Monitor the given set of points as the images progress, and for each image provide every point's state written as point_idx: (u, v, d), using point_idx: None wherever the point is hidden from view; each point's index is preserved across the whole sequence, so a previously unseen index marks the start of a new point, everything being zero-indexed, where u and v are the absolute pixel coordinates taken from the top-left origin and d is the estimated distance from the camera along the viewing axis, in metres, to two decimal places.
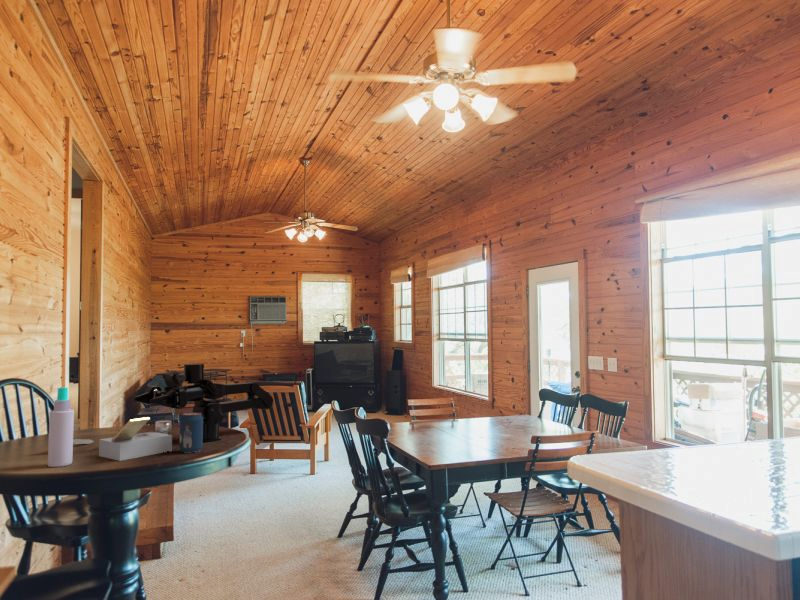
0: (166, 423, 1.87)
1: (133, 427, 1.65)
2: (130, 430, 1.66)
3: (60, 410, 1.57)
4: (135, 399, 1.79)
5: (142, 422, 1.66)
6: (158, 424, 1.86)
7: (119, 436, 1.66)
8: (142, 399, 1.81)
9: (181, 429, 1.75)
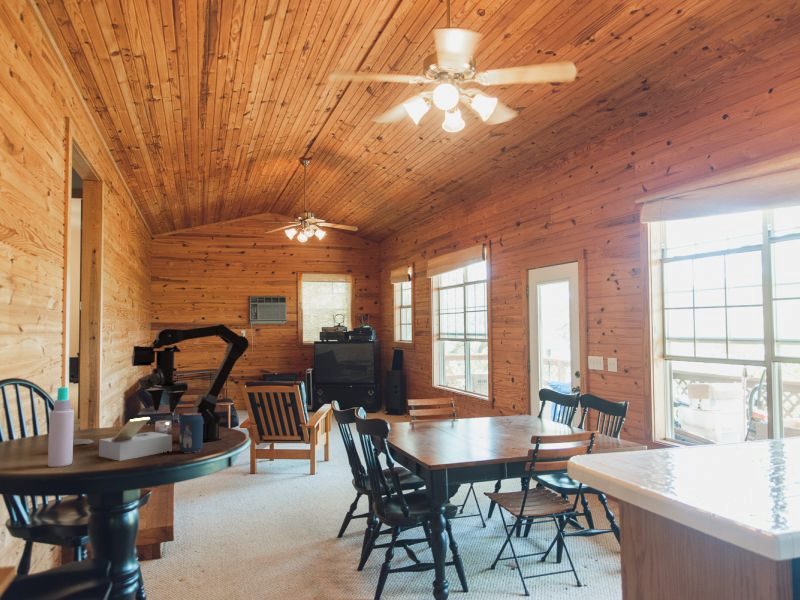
0: (166, 423, 1.87)
1: (133, 427, 1.65)
2: (130, 430, 1.66)
3: (60, 410, 1.57)
4: (156, 409, 1.91)
5: (142, 422, 1.66)
6: (158, 424, 1.86)
7: (119, 436, 1.66)
8: (157, 402, 1.92)
9: (181, 429, 1.75)
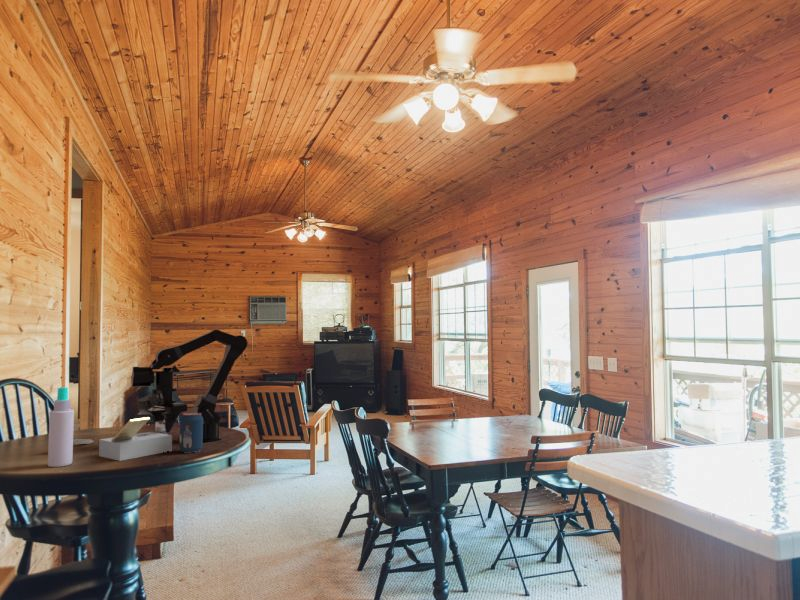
0: None
1: (133, 427, 1.65)
2: (130, 430, 1.66)
3: (60, 410, 1.57)
4: None
5: (142, 422, 1.66)
6: (158, 424, 1.86)
7: (119, 436, 1.66)
8: None
9: (181, 429, 1.75)
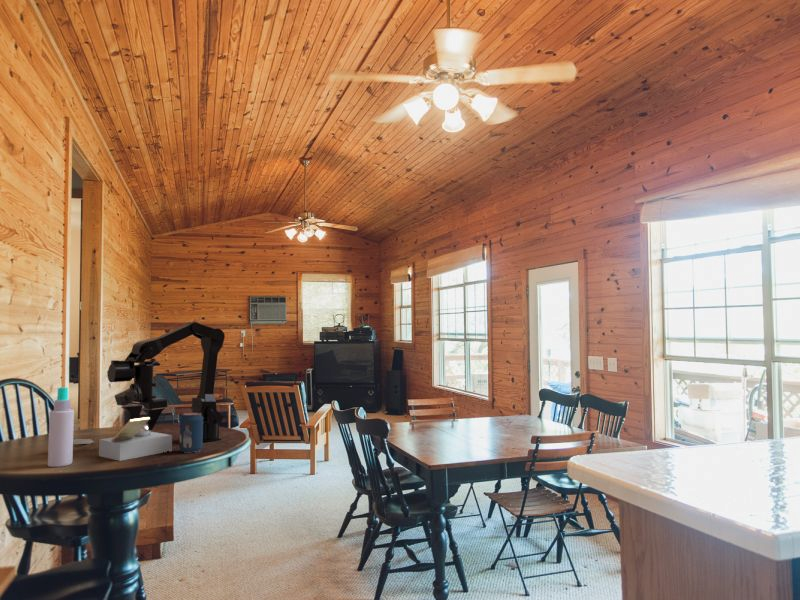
0: (145, 428, 1.76)
1: (133, 427, 1.65)
2: (130, 430, 1.66)
3: (60, 410, 1.57)
4: None
5: (142, 422, 1.66)
6: None
7: (119, 436, 1.66)
8: (135, 418, 1.81)
9: (181, 429, 1.75)
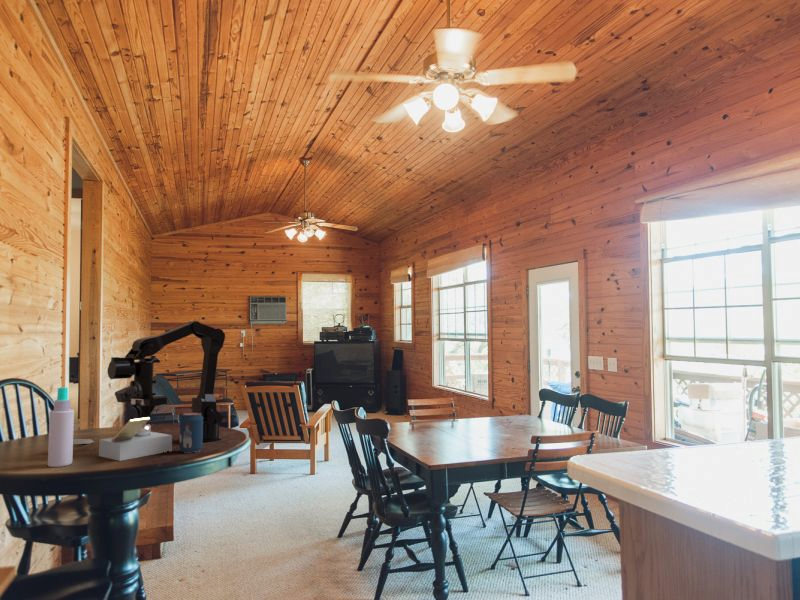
0: (145, 428, 1.76)
1: (133, 427, 1.65)
2: (130, 430, 1.66)
3: (60, 410, 1.57)
4: None
5: (142, 422, 1.66)
6: None
7: (119, 436, 1.66)
8: None
9: (181, 429, 1.75)
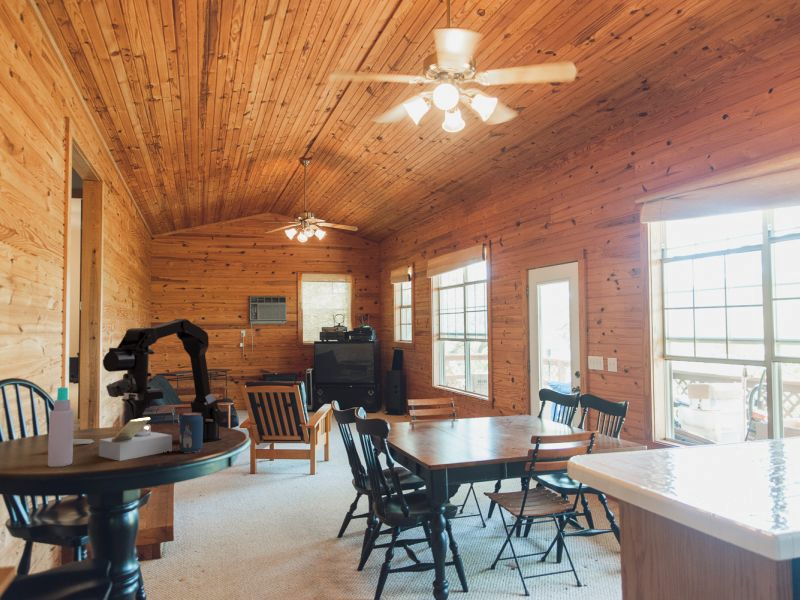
0: (145, 428, 1.76)
1: (133, 427, 1.65)
2: (130, 430, 1.66)
3: (60, 410, 1.57)
4: None
5: (143, 423, 1.66)
6: None
7: (119, 436, 1.66)
8: None
9: (181, 429, 1.75)
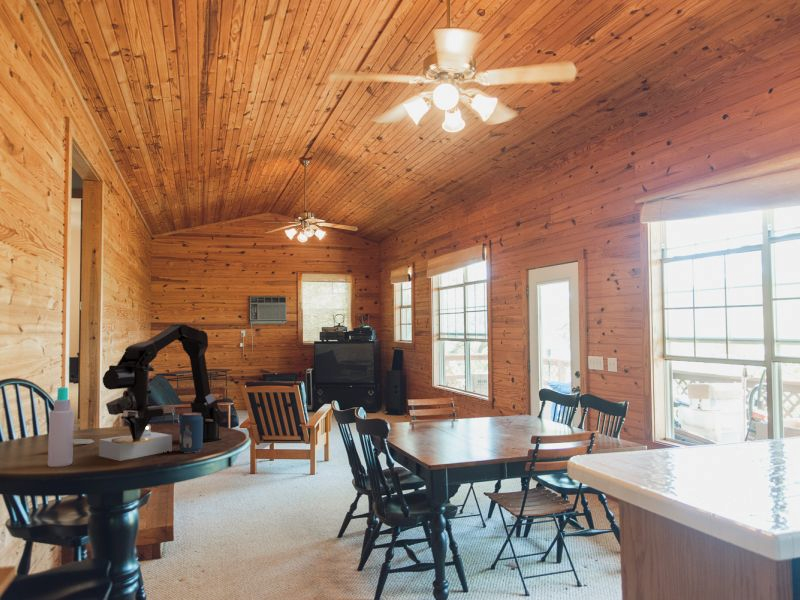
0: (145, 428, 1.76)
1: None
2: None
3: (60, 410, 1.57)
4: None
5: None
6: None
7: None
8: None
9: (181, 429, 1.75)
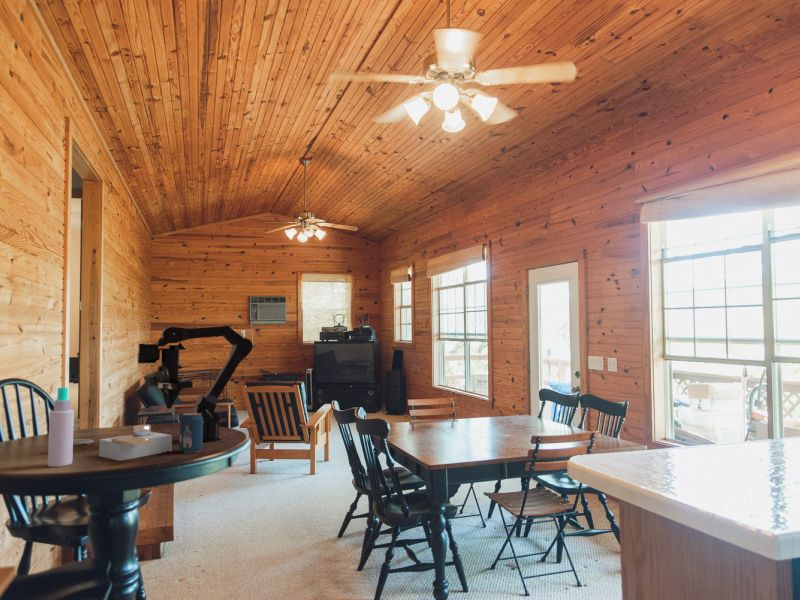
0: (145, 428, 1.76)
1: (135, 441, 1.65)
2: None
3: (60, 410, 1.57)
4: None
5: None
6: (136, 429, 1.76)
7: None
8: None
9: (181, 429, 1.75)
